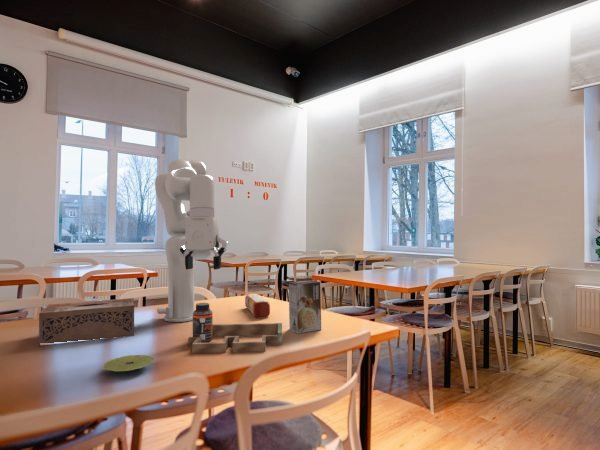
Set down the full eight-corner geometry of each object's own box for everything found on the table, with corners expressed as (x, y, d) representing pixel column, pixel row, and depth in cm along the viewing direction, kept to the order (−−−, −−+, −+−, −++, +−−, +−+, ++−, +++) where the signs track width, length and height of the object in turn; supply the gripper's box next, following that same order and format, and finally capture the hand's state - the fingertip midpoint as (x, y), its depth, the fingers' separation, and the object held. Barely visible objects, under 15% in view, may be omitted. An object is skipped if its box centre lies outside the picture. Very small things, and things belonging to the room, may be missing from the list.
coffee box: (312, 325, 133) (311, 279, 133) (321, 330, 127) (321, 282, 128) (288, 329, 129) (288, 281, 129) (297, 333, 123) (296, 284, 123)
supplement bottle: (207, 344, 113) (207, 306, 113) (188, 343, 114) (188, 305, 114) (215, 338, 119) (215, 302, 119) (198, 337, 120) (197, 301, 120)
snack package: (244, 308, 164) (244, 292, 164) (259, 307, 166) (259, 291, 166) (253, 319, 144) (253, 301, 144) (270, 318, 146) (270, 300, 146)
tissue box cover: (39, 347, 113) (39, 313, 113) (48, 334, 126) (48, 304, 126) (134, 336, 123) (134, 305, 123) (133, 326, 136) (133, 298, 136)
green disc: (127, 360, 100) (126, 352, 100) (163, 364, 97) (163, 356, 97) (92, 376, 89) (92, 368, 89) (132, 381, 86) (132, 372, 86)
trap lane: (183, 353, 105) (183, 340, 105) (196, 335, 122) (196, 324, 122) (282, 350, 106) (282, 338, 106) (281, 333, 123) (281, 322, 123)
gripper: (171, 215, 119) (171, 270, 118) (221, 212, 114) (222, 270, 114) (184, 216, 126) (185, 268, 126) (232, 214, 121) (233, 268, 121)
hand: (203, 269), depth 120 cm, fingers open, 9 cm apart
